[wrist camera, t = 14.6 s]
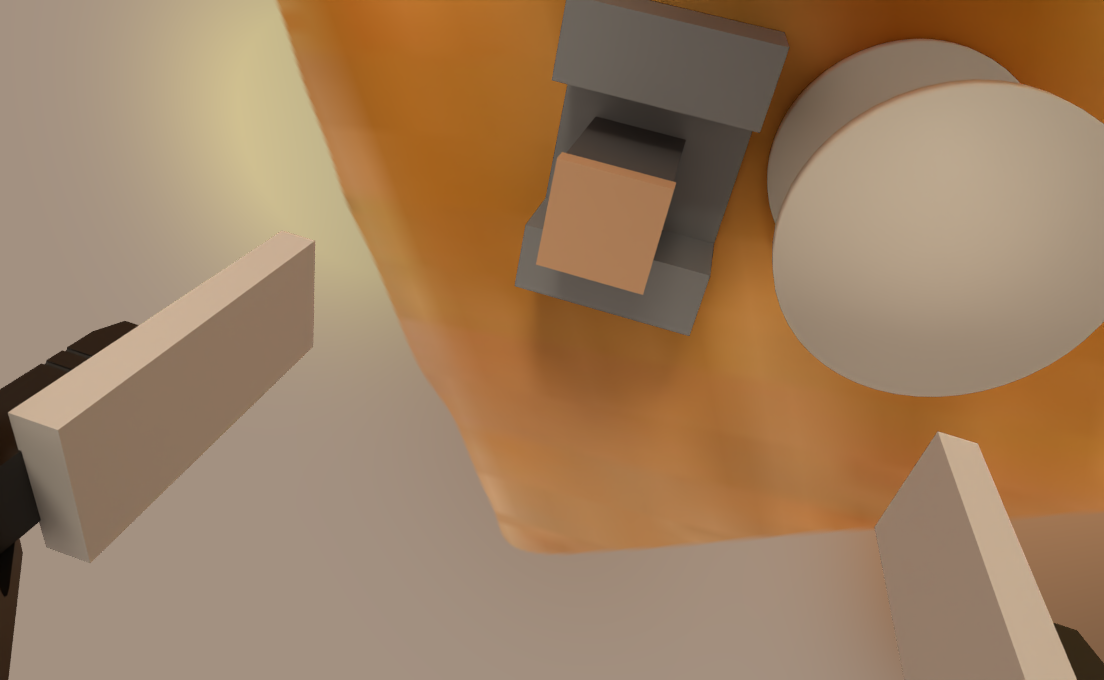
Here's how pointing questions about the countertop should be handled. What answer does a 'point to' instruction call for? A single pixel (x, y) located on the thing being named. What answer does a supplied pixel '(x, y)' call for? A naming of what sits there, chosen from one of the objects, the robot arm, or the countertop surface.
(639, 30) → the notch board
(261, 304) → the robot arm
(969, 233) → the bobbin
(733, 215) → the countertop surface
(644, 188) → the tan and grey block
